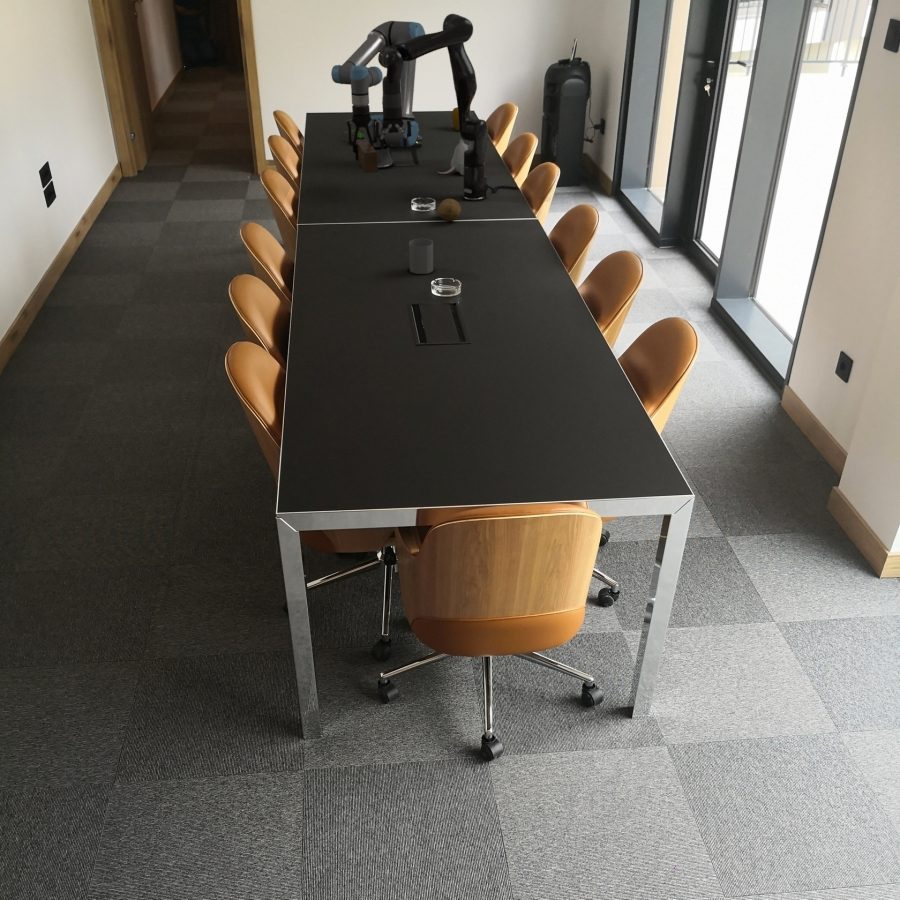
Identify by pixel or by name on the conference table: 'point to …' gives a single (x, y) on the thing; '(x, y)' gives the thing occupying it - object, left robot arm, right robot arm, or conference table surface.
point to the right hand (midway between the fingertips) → (393, 148)
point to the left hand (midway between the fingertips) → (363, 159)
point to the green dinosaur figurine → (359, 136)
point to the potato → (449, 209)
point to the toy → (458, 158)
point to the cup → (421, 256)
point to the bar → (367, 156)
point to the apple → (455, 119)
